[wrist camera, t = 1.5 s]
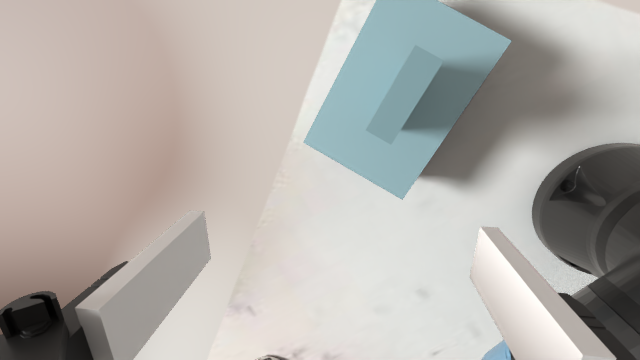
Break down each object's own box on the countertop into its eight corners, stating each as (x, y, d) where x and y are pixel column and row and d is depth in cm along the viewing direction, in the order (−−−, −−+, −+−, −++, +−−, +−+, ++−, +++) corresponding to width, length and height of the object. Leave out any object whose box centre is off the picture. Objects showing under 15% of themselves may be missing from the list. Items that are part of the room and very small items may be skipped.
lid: (389, -22, 27) (393, -94, 17) (507, 42, 27) (585, 9, 16) (305, 141, 33) (269, 161, 23) (401, 196, 32) (410, 243, 22)
